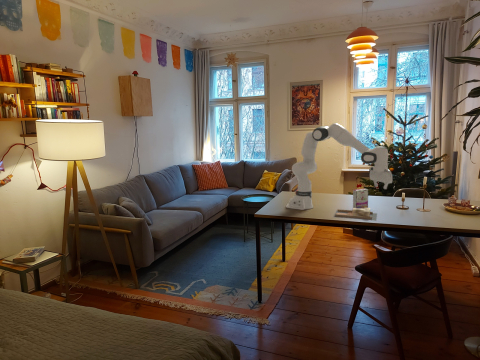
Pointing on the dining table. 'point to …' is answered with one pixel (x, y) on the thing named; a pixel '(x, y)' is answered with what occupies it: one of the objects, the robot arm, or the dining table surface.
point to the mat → (348, 214)
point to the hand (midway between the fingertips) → (380, 187)
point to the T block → (361, 212)
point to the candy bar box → (360, 198)
